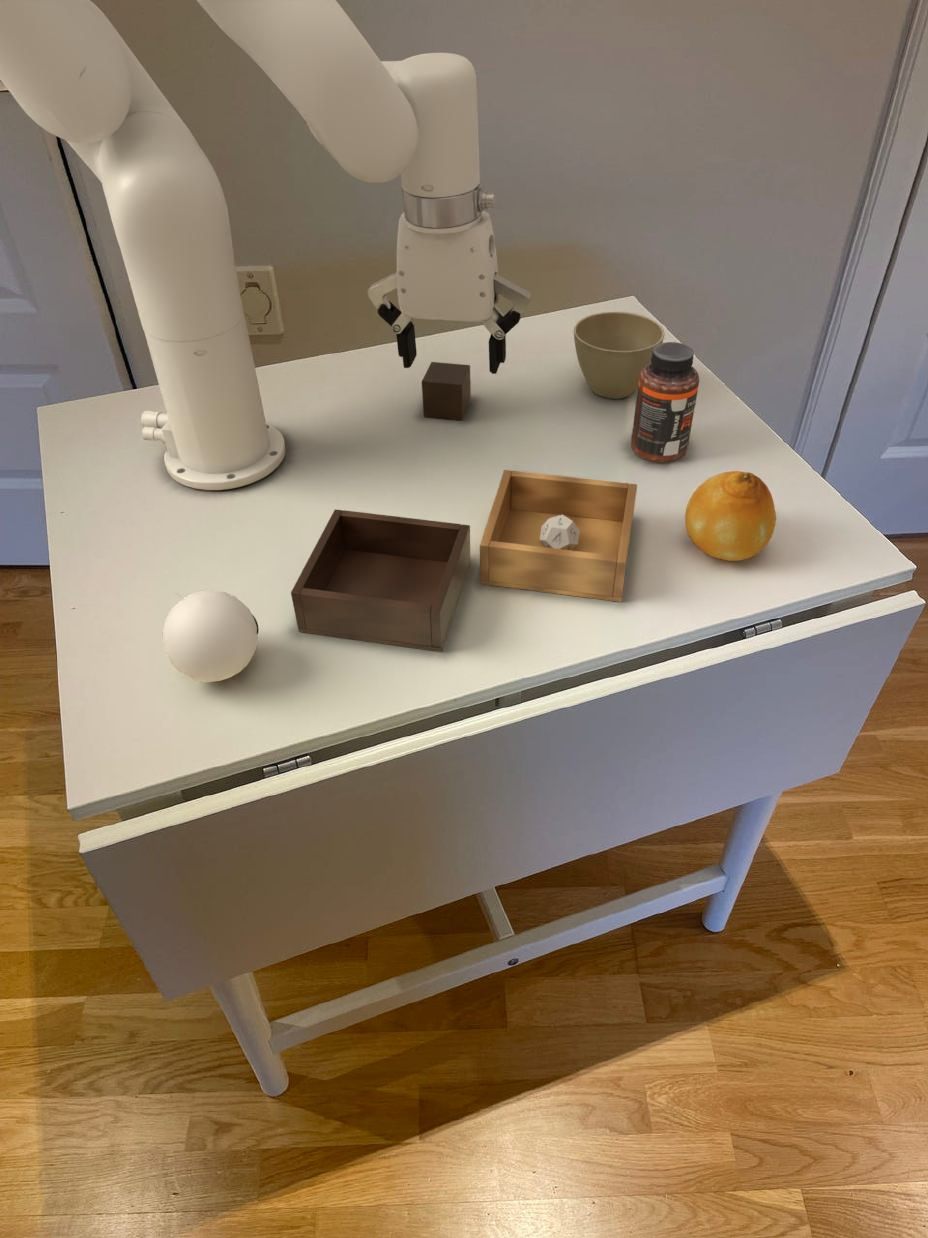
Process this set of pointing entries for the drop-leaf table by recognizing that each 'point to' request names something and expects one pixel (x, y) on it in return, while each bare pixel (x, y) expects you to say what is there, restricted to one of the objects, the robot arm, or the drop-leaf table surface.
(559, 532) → the game die
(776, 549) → the drop-leaf table surface
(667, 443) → the supplement bottle
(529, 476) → the light bin
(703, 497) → the fruit
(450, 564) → the dark bin
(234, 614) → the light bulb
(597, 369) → the flower pot
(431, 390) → the walnut block
